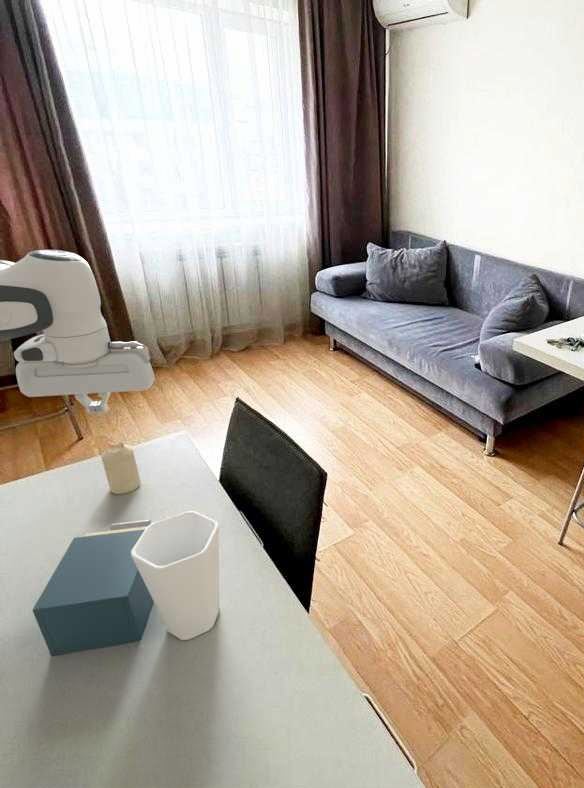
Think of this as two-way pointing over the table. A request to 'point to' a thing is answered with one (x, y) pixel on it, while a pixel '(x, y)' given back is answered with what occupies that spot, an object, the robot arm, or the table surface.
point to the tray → (123, 527)
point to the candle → (121, 468)
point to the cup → (182, 571)
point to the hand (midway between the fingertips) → (98, 411)
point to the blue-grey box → (94, 596)
